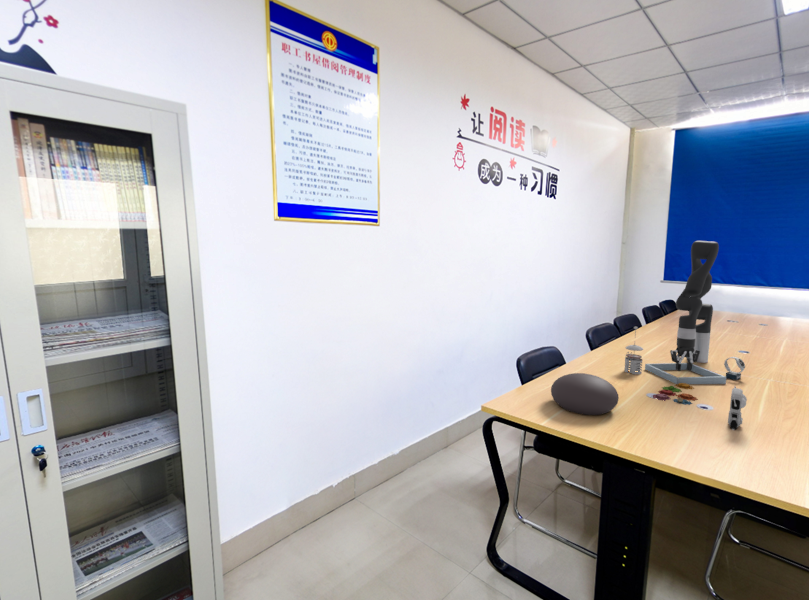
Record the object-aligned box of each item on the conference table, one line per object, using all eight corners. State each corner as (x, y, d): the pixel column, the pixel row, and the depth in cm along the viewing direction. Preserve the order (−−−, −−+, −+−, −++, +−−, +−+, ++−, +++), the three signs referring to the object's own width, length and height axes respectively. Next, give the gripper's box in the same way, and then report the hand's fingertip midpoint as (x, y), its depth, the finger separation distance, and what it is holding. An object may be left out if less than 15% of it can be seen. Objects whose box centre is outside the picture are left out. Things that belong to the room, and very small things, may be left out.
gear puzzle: (668, 384, 199) (669, 376, 199) (709, 392, 188) (710, 384, 187) (648, 401, 178) (649, 392, 177) (693, 412, 166) (694, 402, 166)
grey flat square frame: (644, 371, 219) (645, 363, 219) (688, 370, 220) (689, 362, 220) (676, 386, 195) (676, 378, 195) (725, 385, 196) (726, 376, 196)
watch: (740, 382, 200) (743, 360, 199) (721, 378, 207) (723, 356, 205) (745, 380, 203) (747, 358, 202) (725, 376, 210) (727, 354, 208)
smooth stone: (591, 398, 181) (593, 364, 179) (632, 421, 156) (634, 383, 155) (539, 402, 177) (540, 368, 175) (572, 427, 152) (574, 387, 150)
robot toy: (742, 437, 143) (747, 395, 141) (726, 433, 146) (730, 392, 144) (744, 425, 152) (748, 386, 150) (728, 422, 155) (732, 383, 153)
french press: (647, 374, 213) (650, 326, 210) (635, 379, 206) (639, 329, 203) (628, 370, 221) (631, 323, 218) (616, 374, 214) (619, 326, 211)
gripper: (694, 335, 209) (691, 368, 211) (667, 335, 208) (664, 368, 211) (706, 338, 202) (703, 372, 204) (677, 338, 201) (674, 373, 203)
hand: (683, 370), depth 207 cm, fingers open, 4 cm apart
